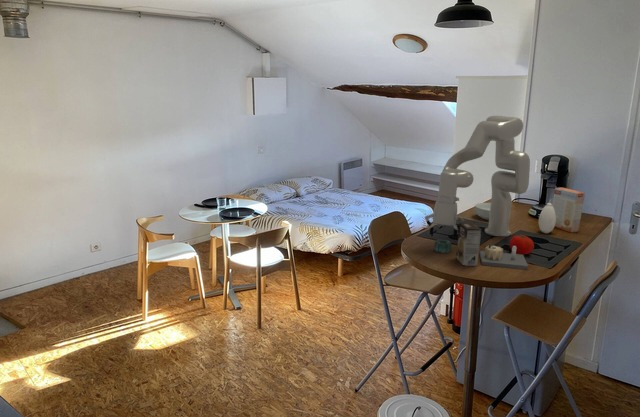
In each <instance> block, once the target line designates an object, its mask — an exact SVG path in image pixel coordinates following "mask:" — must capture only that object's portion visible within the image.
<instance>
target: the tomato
mask: <svg viewBox="0 0 640 417" xmlns="http://www.w3.org/2000/svg"><path fill="white" fill-rule="evenodd" d="M513 246H516V254H520V255H523V256H525V255H528V254H530V253H532V251H534V248H535V244H534V241H533V239H532V238H530V237H528V236H527V235H524V234H518V235H514V236H512V238H510V241H509V248H510V250H511V251H512V247H513Z"/></svg>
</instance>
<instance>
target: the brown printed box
mask: <svg viewBox="0 0 640 417" xmlns="http://www.w3.org/2000/svg"><path fill="white" fill-rule="evenodd" d="M458 225H459V229H458V233H457V246H456V258H455V259H457V260H458V261H459V263H460V264H461V265H462V266H463V265H465V266H473V267H475V266H478V262H479V261H478V260H479V255H480V245H481V244H480V243H481V235H482V228H480V227H479V226H478V225H477V224H475V223H474V222H465V223H461V222H459V224H458Z"/></svg>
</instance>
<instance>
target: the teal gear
mask: <svg viewBox="0 0 640 417" xmlns="http://www.w3.org/2000/svg"><path fill="white" fill-rule="evenodd" d="M434 251H435V252H437V253H441V254H446V253H450V252H451V251H452V242H451V241H450V240H448V239H447V240H446V239H436V240H434Z"/></svg>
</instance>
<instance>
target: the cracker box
mask: <svg viewBox="0 0 640 417" xmlns="http://www.w3.org/2000/svg"><path fill="white" fill-rule="evenodd" d="M553 192H554V194H553V200H552V206H553V208H554V210H555V214H556V223H555V226H554V228H556V229H559V230H562V231H565V232H567V233H579V230H580V224H581V218H582V212H583V205H584V199H585V192H583V191H579V190H576V189H575V190H574V189H570V188H566V187H560V186H559V187H554V191H553Z"/></svg>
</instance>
